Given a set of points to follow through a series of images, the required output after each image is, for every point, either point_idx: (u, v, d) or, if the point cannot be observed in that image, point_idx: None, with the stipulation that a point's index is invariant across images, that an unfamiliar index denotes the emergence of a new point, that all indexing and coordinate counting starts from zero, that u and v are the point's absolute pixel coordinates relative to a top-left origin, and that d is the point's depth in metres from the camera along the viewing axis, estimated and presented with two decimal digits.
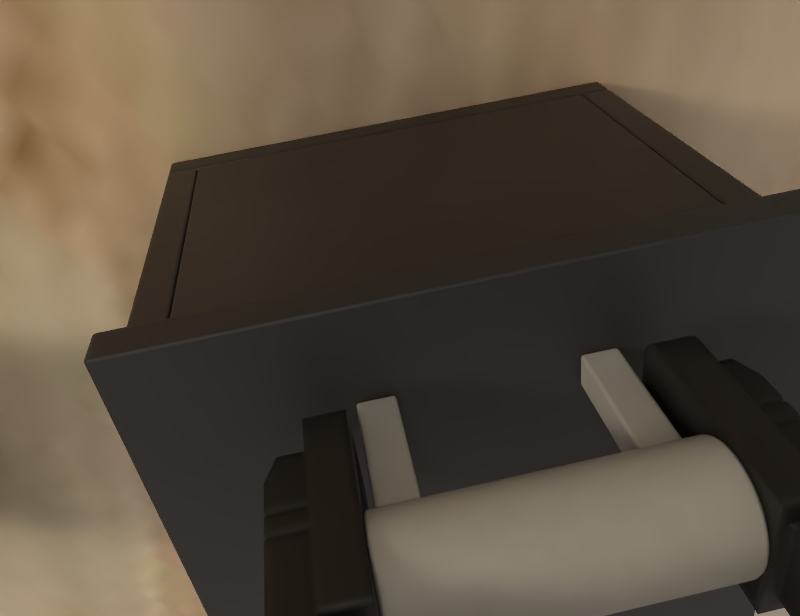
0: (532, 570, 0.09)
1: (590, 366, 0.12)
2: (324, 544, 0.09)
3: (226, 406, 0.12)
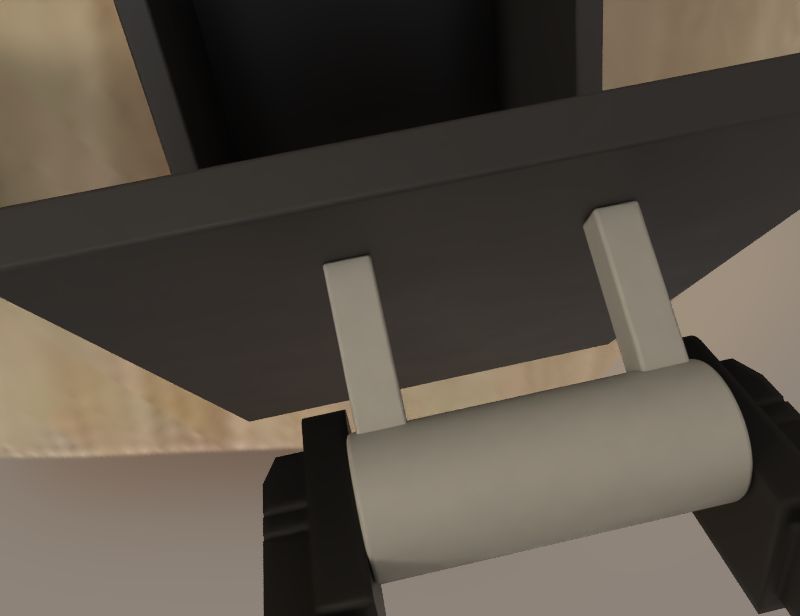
0: (523, 536, 0.09)
1: (603, 230, 0.10)
2: (324, 544, 0.09)
3: (163, 282, 0.10)
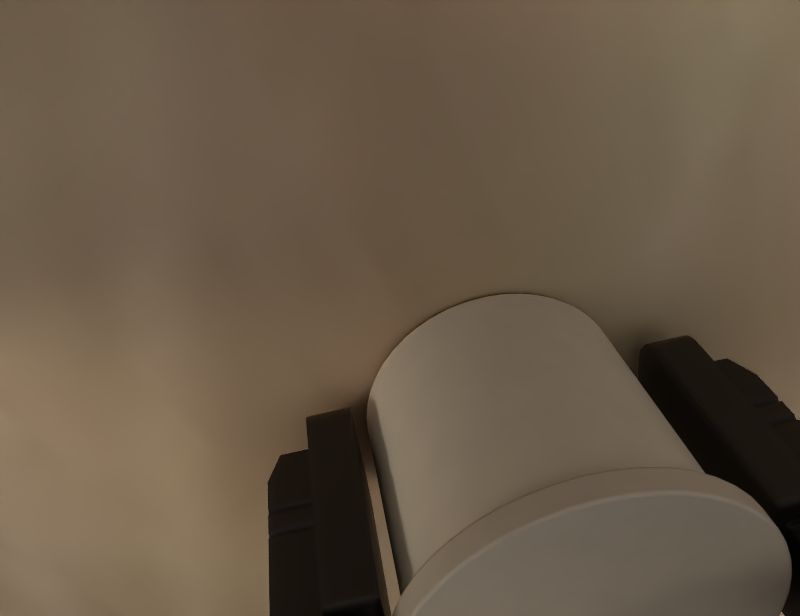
0: None
1: None
2: (329, 542, 0.09)
3: None
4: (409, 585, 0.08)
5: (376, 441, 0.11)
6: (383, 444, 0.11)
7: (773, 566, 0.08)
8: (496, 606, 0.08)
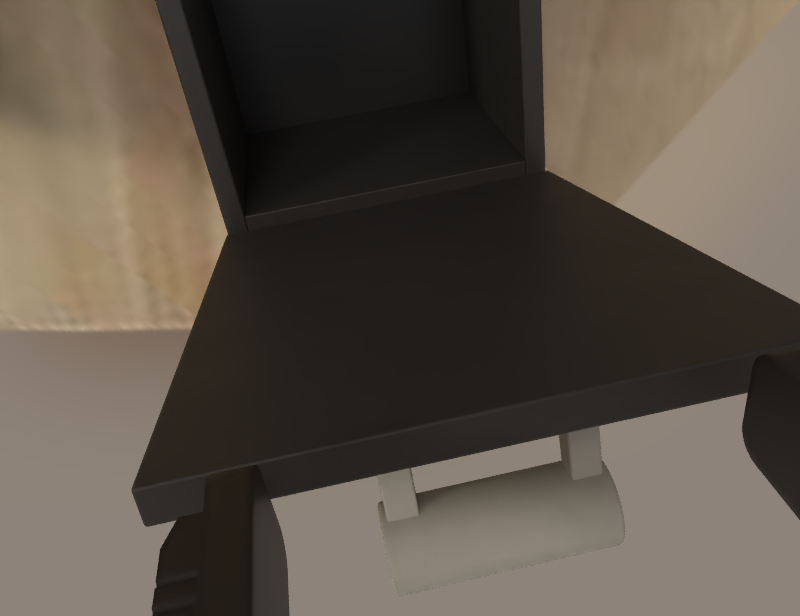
0: (484, 576, 0.15)
1: None
2: None
3: None
4: None
5: None
6: None
7: None
8: None
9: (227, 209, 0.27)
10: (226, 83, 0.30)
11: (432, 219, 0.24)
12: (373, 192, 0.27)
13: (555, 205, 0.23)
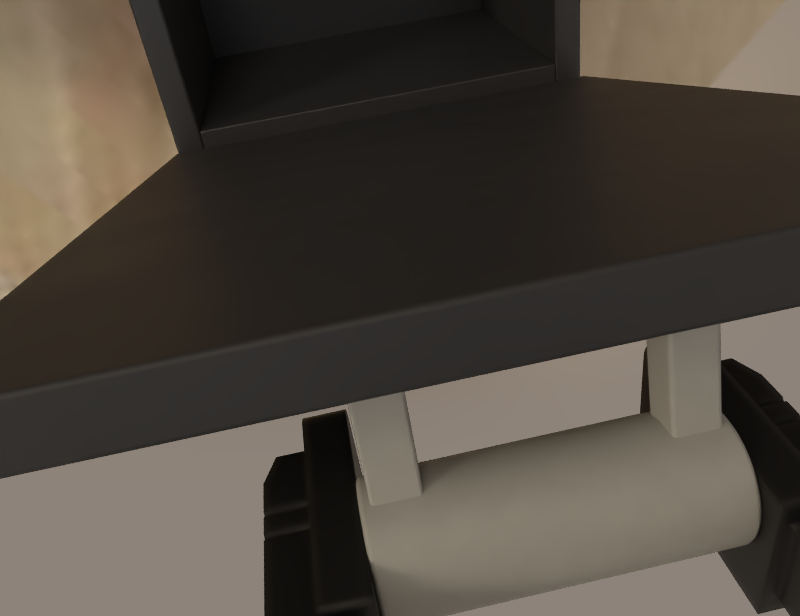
0: None
1: None
2: (324, 544, 0.09)
3: None
4: None
5: None
6: None
7: None
8: None
9: (177, 120, 0.21)
10: None
11: (439, 118, 0.18)
12: (364, 101, 0.22)
13: (603, 93, 0.17)
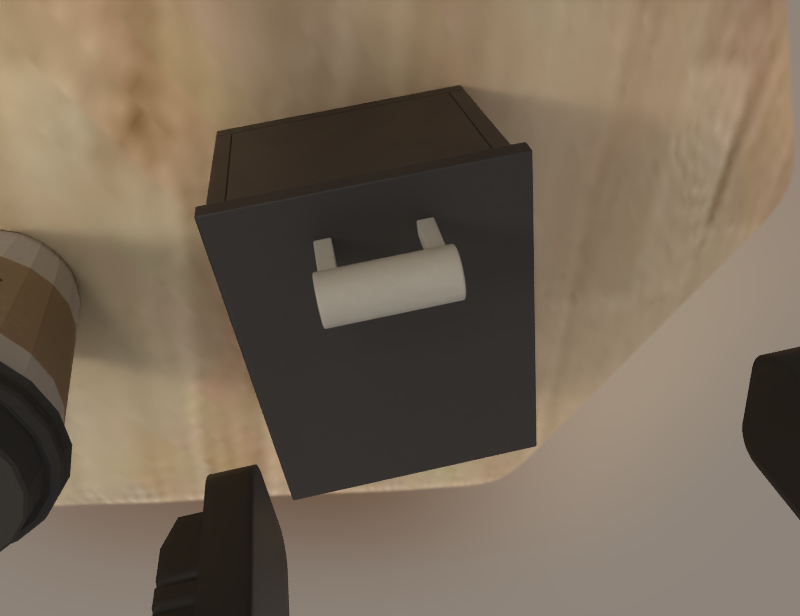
0: (374, 286, 0.24)
1: (419, 224, 0.27)
2: None
3: (254, 240, 0.27)
4: None
5: None
6: None
7: None
8: None
9: None
10: None
11: None
12: None
13: None
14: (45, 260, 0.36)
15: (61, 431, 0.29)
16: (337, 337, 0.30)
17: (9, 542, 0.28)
